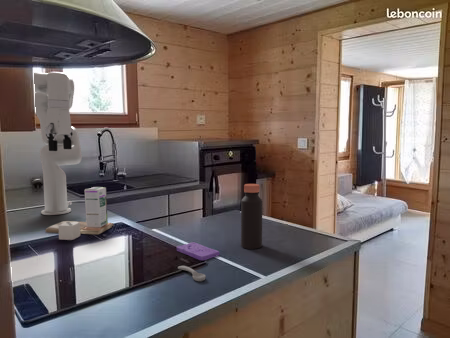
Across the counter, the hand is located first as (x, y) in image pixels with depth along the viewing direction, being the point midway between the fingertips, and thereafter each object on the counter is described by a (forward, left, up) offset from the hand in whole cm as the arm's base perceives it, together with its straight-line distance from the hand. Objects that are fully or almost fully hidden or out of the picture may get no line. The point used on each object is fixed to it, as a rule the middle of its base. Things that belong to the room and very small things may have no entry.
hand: (60, 150), depth 138 cm
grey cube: (+15, +12, -30) cm, 36 cm away
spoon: (+41, +62, -31) cm, 80 cm away
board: (+4, +9, -30) cm, 32 cm away
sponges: (+25, +60, -31) cm, 72 cm away
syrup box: (+4, +16, -29) cm, 33 cm away
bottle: (+16, +76, -30) cm, 83 cm away
